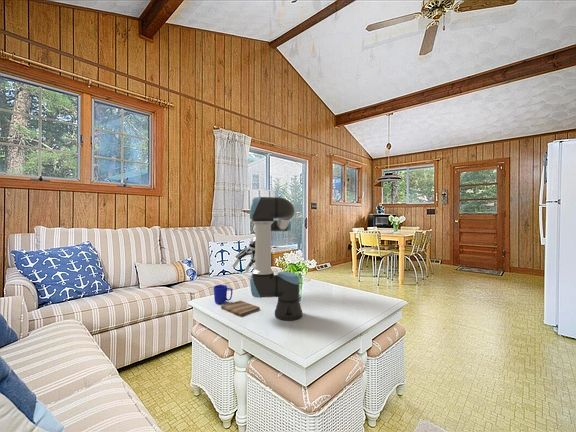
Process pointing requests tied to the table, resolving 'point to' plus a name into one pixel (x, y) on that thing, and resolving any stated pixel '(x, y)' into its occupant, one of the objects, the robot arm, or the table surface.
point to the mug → (221, 294)
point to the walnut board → (240, 308)
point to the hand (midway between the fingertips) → (239, 268)
